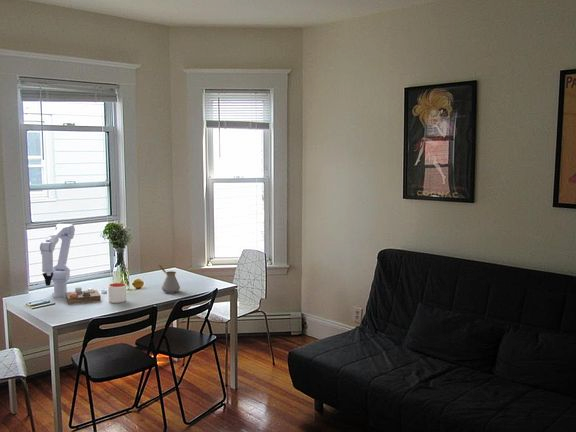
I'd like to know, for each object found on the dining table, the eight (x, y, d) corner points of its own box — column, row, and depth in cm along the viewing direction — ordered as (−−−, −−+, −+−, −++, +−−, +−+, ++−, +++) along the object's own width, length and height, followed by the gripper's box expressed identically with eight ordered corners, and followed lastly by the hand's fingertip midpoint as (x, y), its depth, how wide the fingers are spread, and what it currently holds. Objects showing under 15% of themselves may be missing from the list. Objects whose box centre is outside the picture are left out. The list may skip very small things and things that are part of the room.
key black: (83, 297, 329) (82, 291, 329) (89, 297, 331) (88, 291, 331) (83, 299, 327) (83, 293, 326) (89, 298, 328) (89, 292, 328)
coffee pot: (183, 292, 355) (183, 269, 353) (167, 295, 347) (167, 271, 345) (166, 285, 371) (166, 263, 369) (150, 288, 363) (151, 265, 361)
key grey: (75, 293, 334) (75, 287, 333) (81, 292, 335) (81, 286, 335) (75, 294, 331) (75, 288, 330) (81, 294, 332) (81, 288, 332)
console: (65, 298, 333) (65, 292, 333) (96, 295, 342) (96, 289, 341) (68, 304, 321) (68, 298, 321) (100, 301, 329) (100, 295, 329)
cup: (107, 303, 325) (107, 287, 324) (109, 299, 335) (109, 283, 333) (125, 303, 327) (125, 286, 326) (126, 298, 337) (126, 282, 335)
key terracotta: (70, 298, 326) (70, 292, 326) (76, 298, 328) (76, 292, 327) (71, 300, 323) (71, 294, 323) (77, 299, 325) (77, 293, 324)
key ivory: (87, 294, 337) (87, 288, 337) (93, 293, 339) (93, 287, 338) (88, 295, 334) (88, 289, 334) (94, 295, 336) (94, 289, 335)
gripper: (56, 264, 315) (56, 287, 317) (53, 259, 328) (54, 281, 330) (42, 265, 312) (43, 288, 314) (40, 260, 325) (41, 282, 326)
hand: (48, 285), depth 322 cm, fingers closed
